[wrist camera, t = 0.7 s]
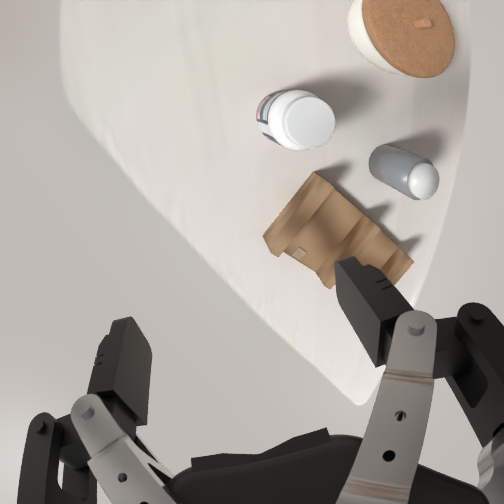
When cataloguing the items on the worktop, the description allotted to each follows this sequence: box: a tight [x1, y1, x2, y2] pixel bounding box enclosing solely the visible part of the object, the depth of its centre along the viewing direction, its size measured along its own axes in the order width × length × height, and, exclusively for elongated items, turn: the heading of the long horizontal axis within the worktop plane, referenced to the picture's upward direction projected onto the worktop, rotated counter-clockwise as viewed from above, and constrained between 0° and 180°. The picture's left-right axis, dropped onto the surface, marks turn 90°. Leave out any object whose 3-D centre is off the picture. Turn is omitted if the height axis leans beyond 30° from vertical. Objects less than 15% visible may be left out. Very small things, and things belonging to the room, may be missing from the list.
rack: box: [263, 172, 414, 289], centre depth 35 cm, size 9×17×4 cm, turn 53°
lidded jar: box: [346, 0, 455, 78], centre depth 21 cm, size 11×11×9 cm
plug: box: [369, 145, 439, 200], centre depth 29 cm, size 4×4×8 cm
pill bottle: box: [256, 90, 335, 151], centre depth 25 cm, size 5×5×9 cm
